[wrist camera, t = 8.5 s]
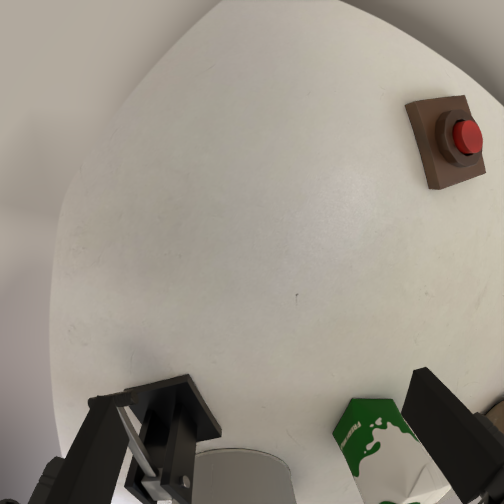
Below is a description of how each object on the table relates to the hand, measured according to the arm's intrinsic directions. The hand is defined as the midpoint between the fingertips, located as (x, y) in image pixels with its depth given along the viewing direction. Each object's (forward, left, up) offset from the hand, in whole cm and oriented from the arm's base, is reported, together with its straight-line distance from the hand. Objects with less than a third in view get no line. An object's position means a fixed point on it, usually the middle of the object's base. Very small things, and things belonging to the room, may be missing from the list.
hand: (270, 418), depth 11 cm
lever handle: (+9, -14, -10) cm, 20 cm away
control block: (-7, +28, -20) cm, 35 cm away
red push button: (-7, +28, -16) cm, 33 cm away
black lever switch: (+14, -14, -20) cm, 28 cm away
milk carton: (+26, +9, -20) cm, 33 cm away
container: (+32, -13, -20) cm, 40 cm away
